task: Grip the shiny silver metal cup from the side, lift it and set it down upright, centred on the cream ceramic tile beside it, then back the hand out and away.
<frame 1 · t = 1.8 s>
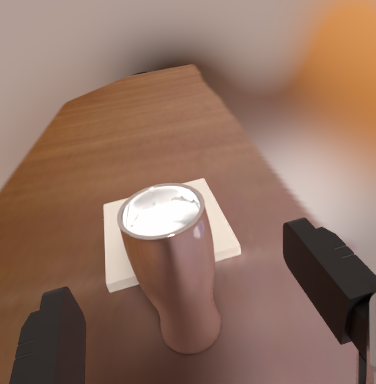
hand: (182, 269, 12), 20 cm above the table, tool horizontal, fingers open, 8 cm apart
ceramic tile: (165, 230, 44), on the table
shiny silver metal cup: (191, 325, 32), on the table
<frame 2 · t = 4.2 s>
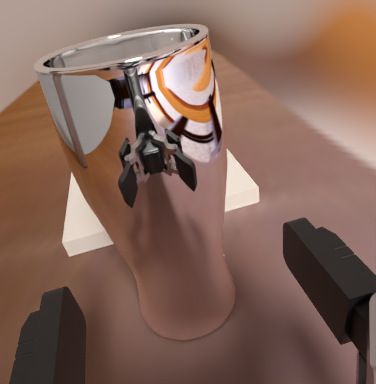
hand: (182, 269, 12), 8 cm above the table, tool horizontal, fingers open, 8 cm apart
ceramic tile: (153, 180, 33), on the table
shiny silver metal cup: (188, 298, 21), on the table
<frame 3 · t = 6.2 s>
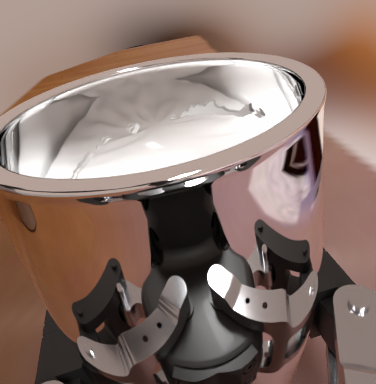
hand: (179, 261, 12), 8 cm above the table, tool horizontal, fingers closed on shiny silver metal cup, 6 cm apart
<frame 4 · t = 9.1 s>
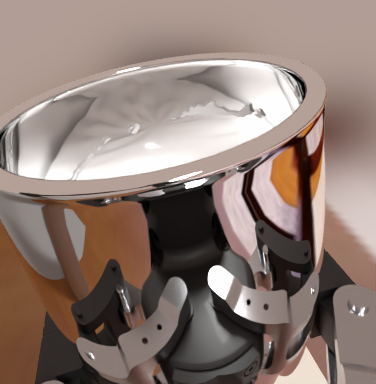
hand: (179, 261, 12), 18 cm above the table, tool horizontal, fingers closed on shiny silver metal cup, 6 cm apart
when the fingers open (10 cm above the table, at t = 11.8 s): shiny silver metal cup stays where it is, resting on ceramic tile.
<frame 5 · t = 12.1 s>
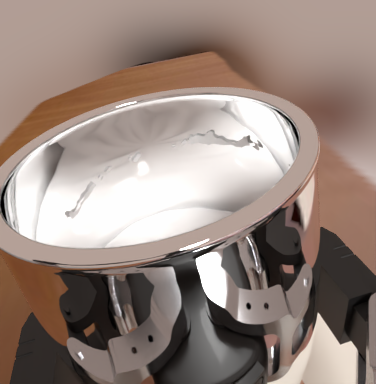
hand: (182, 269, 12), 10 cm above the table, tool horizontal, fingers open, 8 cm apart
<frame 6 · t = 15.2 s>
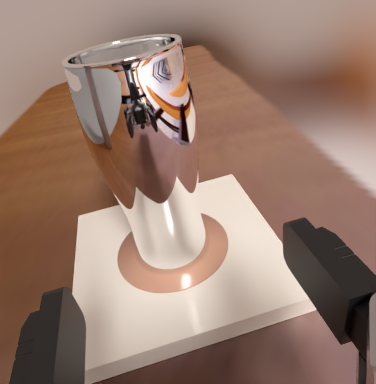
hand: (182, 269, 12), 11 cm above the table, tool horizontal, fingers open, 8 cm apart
ceramic tile: (175, 259, 27), on the table
shiny silver metal cup: (173, 248, 26), point 1 cm above the table, touching ceramic tile
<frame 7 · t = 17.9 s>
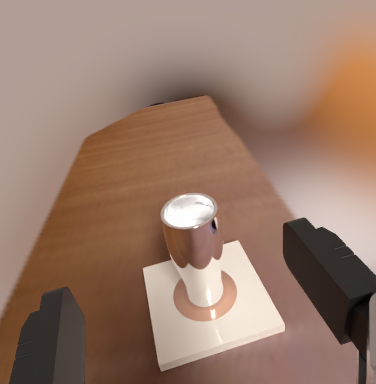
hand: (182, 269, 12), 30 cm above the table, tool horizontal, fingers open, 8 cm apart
ceramic tile: (206, 299, 46), on the table
shiny silver metal cup: (205, 293, 45), point 1 cm above the table, touching ceramic tile
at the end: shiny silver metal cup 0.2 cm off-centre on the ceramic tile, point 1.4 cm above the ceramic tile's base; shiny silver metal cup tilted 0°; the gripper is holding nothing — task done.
